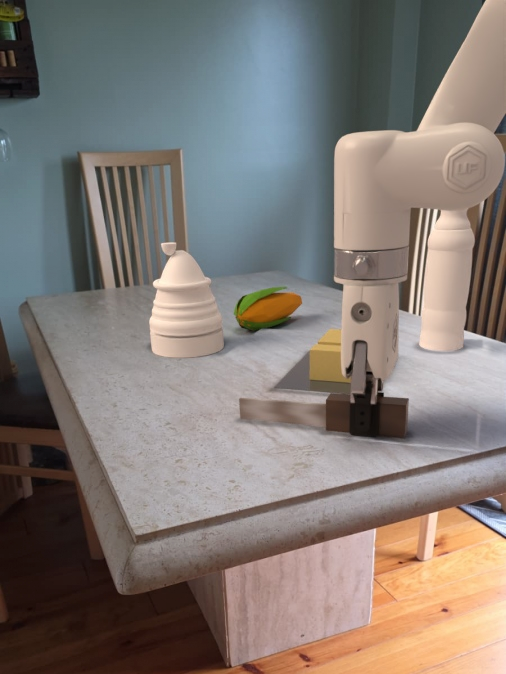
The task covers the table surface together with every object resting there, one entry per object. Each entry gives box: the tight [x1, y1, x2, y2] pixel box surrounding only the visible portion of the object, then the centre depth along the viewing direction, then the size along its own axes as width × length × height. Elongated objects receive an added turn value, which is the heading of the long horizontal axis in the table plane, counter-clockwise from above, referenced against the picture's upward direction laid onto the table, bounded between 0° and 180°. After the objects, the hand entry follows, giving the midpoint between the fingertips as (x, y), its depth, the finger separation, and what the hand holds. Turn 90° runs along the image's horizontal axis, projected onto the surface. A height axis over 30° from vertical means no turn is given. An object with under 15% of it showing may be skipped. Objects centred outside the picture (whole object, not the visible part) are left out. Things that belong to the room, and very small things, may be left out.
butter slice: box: [309, 343, 351, 383], centre depth 89 cm, size 6×3×4 cm, turn 71°
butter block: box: [317, 328, 341, 346], centre depth 95 cm, size 6×8×4 cm
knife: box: [238, 393, 410, 439], centre depth 73 cm, size 20×2×4 cm, turn 71°
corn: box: [233, 286, 303, 331], centre depth 124 cm, size 7×8×20 cm
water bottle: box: [418, 208, 476, 352], centre depth 99 cm, size 7×7×25 cm
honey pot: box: [148, 241, 225, 359], centre depth 107 cm, size 13×13×18 cm
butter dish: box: [273, 350, 351, 394], centre depth 93 cm, size 14×20×1 cm
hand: (366, 428), depth 72 cm, fingers closed on knife, 2 cm apart
